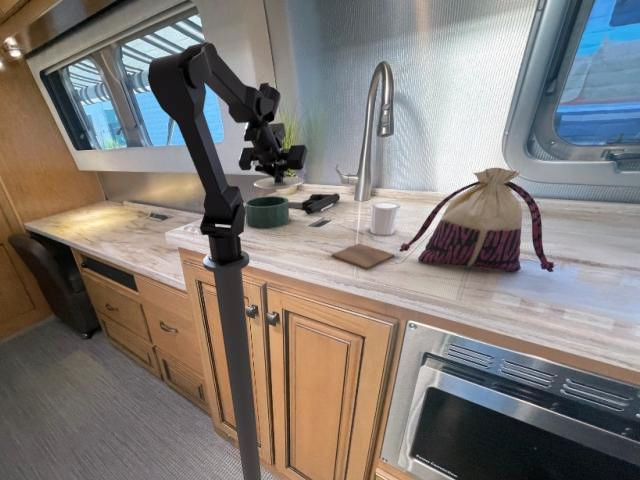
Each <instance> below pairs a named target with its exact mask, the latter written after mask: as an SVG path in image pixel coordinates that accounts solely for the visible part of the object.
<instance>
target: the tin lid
mask: <svg viewBox="0 0 640 480" xmlns="http://www.w3.org/2000/svg"><path fill="white" fill-rule="evenodd" d="M272 166H273V174H274V178H273V177H267V178H261V179H258V180H256V181H255V182H254V183H253V186H254V187H255V188H258V189H263V190H275V191H276V190H286V189H291V188H294V187H297V186H300V185H302V184H303V183H304V181H305V180H304V178H302V177H298V176H286V177H285V178H283V177H282V176H281V175H280V173H279V172H278V171H277V170H278V167H279V163H276V164H272Z"/></svg>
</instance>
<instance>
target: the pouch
mask: <svg viewBox="0 0 640 480" xmlns="http://www.w3.org/2000/svg"><path fill="white" fill-rule="evenodd" d="M473 175H474V176H475V177H476V179H477V181H474V182H473V183H470V184H468V185H465V186H462V187H461V188H459V189H457V190H455V191H454V192H452V193H450V194H449V195H448V196H446V197H445V198H444V199H442V200H441V201H440V202H439V203H438V204H437V205H436V206H435V207H434V208H433V209H432V210H431V212H430V214H429V215H428V216H427V217H426V219H425V221H424V222H423V223H422V225H421V226H420V229H419V230H418V232H417V233H416V234H415V235H414V237H413V238H412V239H411V240H410V241H409V242H407V243H406V242H403V243H402V244H401V245H400V249H398V251H399V252H400V253H403V252H404V251H405V252H408V251H409V250H410V249H411V246H412V245H414V244H415V243H416V242H417V241H419V240H420V238H421V237H422V236H423V235H424V234H425V233H426V232H427V230H428V229H429V228H430V226H431V224H432V223H433V221H434V220H435V218H436V217H437V215H438V213H439V212H440V211H441V210H442V208H443V207H444V206H446V204H447V203H448V202H449V201H450V200H451V199H453V198H454V197H455V196H456V197H455V198H454V199H453V200H452V201H451V202H449V204H448V206H447V207H446V209H445V211H444V213H443V214H442V216H441V218H440V220H439V221H438V223H437V225H436V226H435V229H434V230H433V233H432V235H431V236H430V238H429V240H428V242H427V243H426V245H425V249H424V250H422V252H421V253H420V255H419V256H418V257H417V261H418V262H420V263H426V264H438V265H439V264H440V265H447V266H448V265H449V266H458V267H459V266H461V267H468V268H469V267H471V268H480V269H488V270H489V269H490V270H499V271H506V272H518V271H520V270H522V267H521V261H520V260H519V259H520V256H521V248H520V247H521V245H522V244H521V243H522V241H521V237H522V225H523V224H522V223H523V205H522V202H521V200H520V199H519V197H518V196H517V195H519V196H520V197H521V198H522V200H523V201H524V203H526V205H527V208H528V210H529V213H530V217H531V237H532V246H533V249H534V252H535V255H536V257H537V259H538V260H539V261H540V268H541V270H546V271H547V272H548V273H553V272H555V271H554V268H555V263H554V261H551V260H549V261H548V259H547V257H546V255H545V252H544V245H543V224H542V215H541V212H540V209H539V206H538V204H537V202H536V200H535V199H534V197H532V196H531V194H530V193H529V192H528V191H527V190H525V189H524V188H523V187H522V186H521V185H519V184H516V183H515V182H512V181H511V180H514V179H515V178H517V177H518V176H520V175H521V171H519V172H518V171H517V170H510V169H506V168H502V167H489V168H485V169H484V170H483V171H477V172H473ZM465 190H466V191H465ZM463 191H464V192H463ZM516 193H517V194H516ZM457 195H458V196H457Z"/></svg>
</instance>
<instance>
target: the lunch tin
mask: <svg viewBox="0 0 640 480" xmlns="http://www.w3.org/2000/svg"><path fill="white" fill-rule="evenodd" d="M289 202H290V200H289V198H287V197H284V196H278V195H277V196H276V195H268V196H266V195H265V196H259V197H253V198H250V199H248V200H245V201H244V207H245V224H246V226H247V227H250V228H253V229H275V228H279V227H282V226H284V225H287V224H288V223H289V219H290V208H289Z"/></svg>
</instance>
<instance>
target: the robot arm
mask: <svg viewBox="0 0 640 480" xmlns="http://www.w3.org/2000/svg"><path fill="white" fill-rule="evenodd" d="M146 78H147V83H148V86H149V89H150V91H151V93H152V94H153V96H154V99H156V101H157V104H158V105H159V106H160V107H159V108H160V109H161V110H162V111H163V112H165V113H166V114H167V115H168V117H170V118H171V119H172V120H173V121H174V122H175V123H176V124H177V127H178V129H179V132H180V134H181V137H182V138H183V141H184V144H185V146H186V149H187V151H188V153H189V155H190V158H191V161H192V163H193V166H194V168H195V171H196V173H197V175H198V178H199V180H200V182H201V185H202V187H203V190H204V192H205V196H204V199H203V209H204V214H203V216H202V219H201V222H200V225H199V230H200V233H201V235H202V236H207V238H208V245H209V252H210V253H211V255H210V256H208V259H210V260H212V261H213V262H215V263H217V264H218V265H220V266H224V265H227V264H229V263H232V262H235V261H238V260H241V259H244V256H243V255H241V253H242V251H243V250H242V242H241V241H242V240H241V236H240V235H241V234H243V233H245V232H244V231H245V224H246V217H245V204H244V203H245V200H244V199H243V197H242V193H241V189H240V188H239V186H238V185H229V183H228V181H227V178H226V175H225V172H224V169H223V166H222V163H221V159H220V157H219V155H218V151H217V148H216V145H215V143H214V139H213V137H212V134H211V130H210V128H209V125H208V122H207V119H206V116H205V112H204V109H205V102H206V98H207V97H206V96H207V89H206V86H207V87H208V88H209V89H210V90H211V91H212V92H213V93H214V94H215V95H216V96H217V97H218V98H220V99H221V100H222V101H223V102H224V103H225V104H226V105H227V107H228V114H229V116H230V117H231V118H232V119H233V121H234V122H235V123H236V124H245V128H244V130H245V132H244V135H243V141H244V142H251V144H252V146H248V147H247V146H246V147H243V148H242V150H241V153H240V155H239V159H238V167H239V168H240V170H241V171H251V170H252V167H253V166H254V171H255V172H257V173H260V174H264V175H266V176H269V177H270V178H274V174H273V164H276V163H279V167H278V170H277V171H278V172H279V173H280V175H281V176H282V177H283V178H285V177H287V172H288V171H289V170H290V171H300V170H303V168H304V166H305V162H306V160H307V159H306V158H307V156H308V152H309V151H308V147H307V146H306V144H292V145H290V147H289V148H287V147H286V148H283V147H284V143H283V140H284V139H285V138H286V136H287V134H286V127H285V123H284V122H278V123H272V122H275V119H276V115H277V111H278V108H279V105H280V103H281V97H282V96H281V93H280V91H279V90H277V89H276V88H275V87H273V86H270V84H269V82H263V83H260V84H259V87H258V88H256V87H254V86H250V85H246V84H245V83H243V81H242V80H241V79H240V77H238V76H237V74H236V73H235V72H234V71H233V70H232V69H231V68H230V66H229V65H228V64H227V63H226V62H225V60H224V59H222V57H221V56H220V55H219V53H218V51H217V48H216V46H215V45H214V44H213V43H212V42H211V43H210V42H208V41H204V42H201V43H195V44H191V45H188V46H187V48H185V49H183V50H182V51H181V52H177V53H173V54H168V55H165V56H160V57H156V58H153V59H152V60H151V61H150V62H149V65H148V74H147V76H146ZM217 225H222V226H217ZM227 226H228V227H227ZM229 226H230V227H229ZM241 250H242V251H241ZM210 253H209V254H210Z"/></svg>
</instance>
